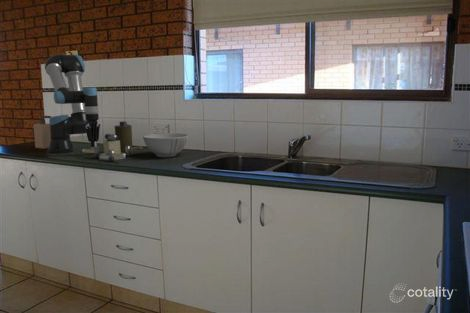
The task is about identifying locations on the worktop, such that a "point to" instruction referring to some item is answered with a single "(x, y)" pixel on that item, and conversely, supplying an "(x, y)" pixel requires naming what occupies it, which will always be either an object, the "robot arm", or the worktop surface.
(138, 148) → the knob
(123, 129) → the canister
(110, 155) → the knob
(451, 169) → the worktop surface
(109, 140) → the tribrach plate
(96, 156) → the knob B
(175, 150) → the decorative bowl
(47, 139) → the soap dispenser
